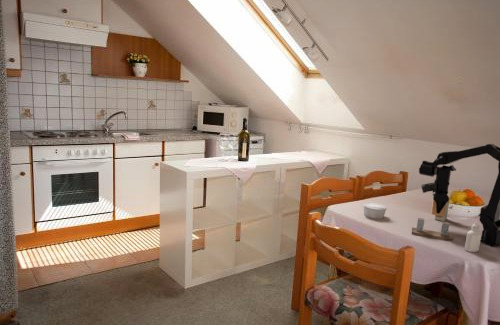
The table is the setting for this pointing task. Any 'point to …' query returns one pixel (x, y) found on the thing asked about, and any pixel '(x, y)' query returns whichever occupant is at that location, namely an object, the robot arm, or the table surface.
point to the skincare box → (443, 218)
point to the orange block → (434, 210)
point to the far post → (420, 225)
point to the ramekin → (374, 210)
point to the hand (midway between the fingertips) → (437, 211)
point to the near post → (444, 229)
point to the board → (431, 234)
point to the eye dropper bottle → (473, 239)
